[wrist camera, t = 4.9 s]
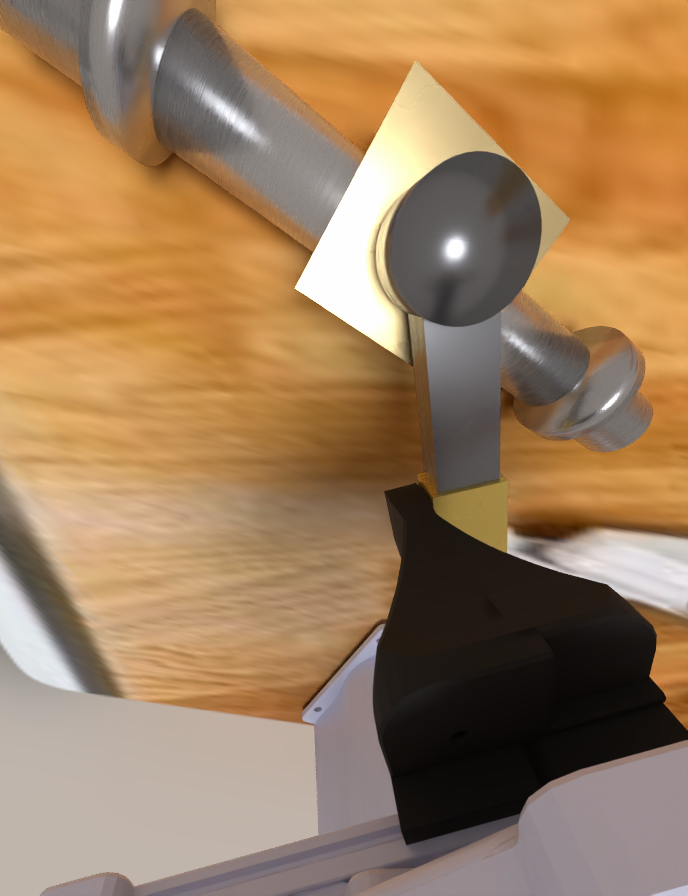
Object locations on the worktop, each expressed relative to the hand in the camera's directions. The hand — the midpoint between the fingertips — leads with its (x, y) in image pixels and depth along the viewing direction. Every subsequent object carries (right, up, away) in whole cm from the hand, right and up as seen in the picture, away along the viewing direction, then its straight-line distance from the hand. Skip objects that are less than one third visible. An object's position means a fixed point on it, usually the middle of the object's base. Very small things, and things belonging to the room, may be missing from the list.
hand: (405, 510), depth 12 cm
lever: (+1, +2, -1) cm, 3 cm away
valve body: (0, +9, 0) cm, 9 cm away
